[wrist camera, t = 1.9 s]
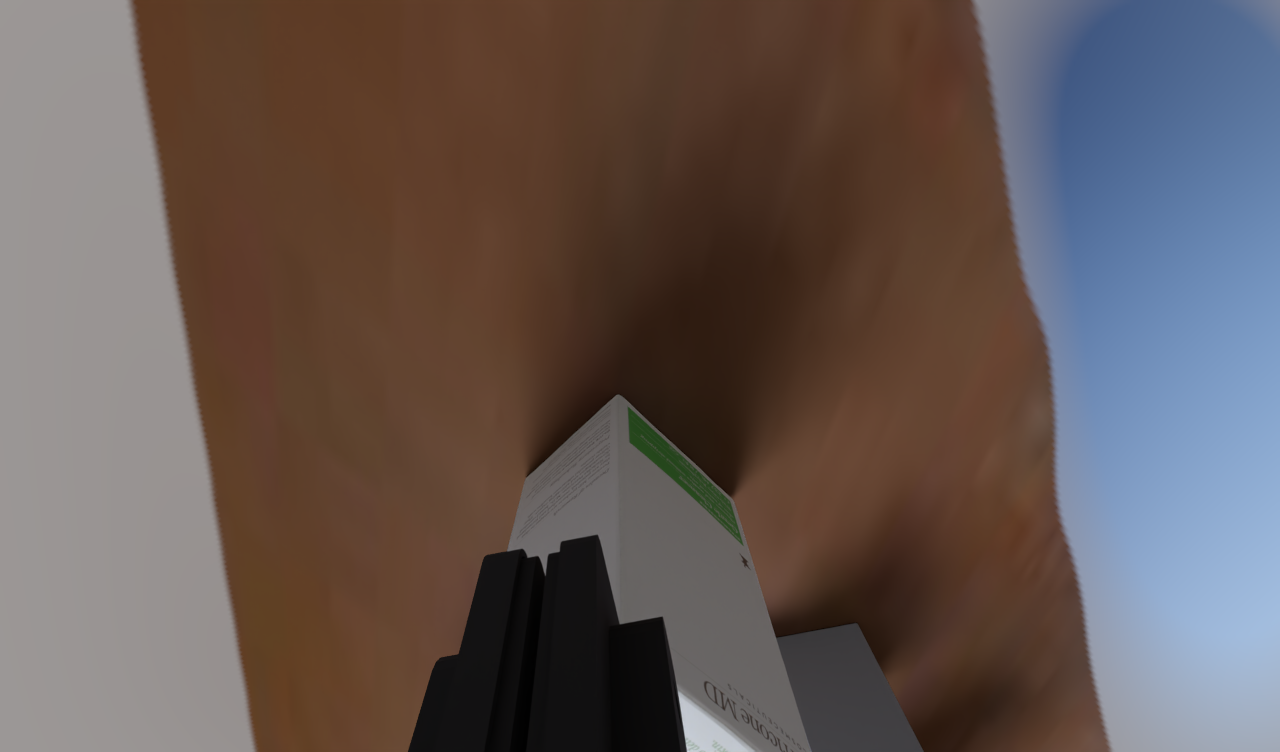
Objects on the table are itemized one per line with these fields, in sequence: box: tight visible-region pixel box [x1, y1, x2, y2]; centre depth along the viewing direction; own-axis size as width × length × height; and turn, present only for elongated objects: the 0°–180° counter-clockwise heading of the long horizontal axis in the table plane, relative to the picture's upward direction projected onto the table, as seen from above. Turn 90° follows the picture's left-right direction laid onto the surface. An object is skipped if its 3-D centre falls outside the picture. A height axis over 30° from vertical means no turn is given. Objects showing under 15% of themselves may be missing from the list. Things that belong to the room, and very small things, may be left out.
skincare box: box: [507, 395, 811, 752], centre depth 24 cm, size 8×7×16 cm
